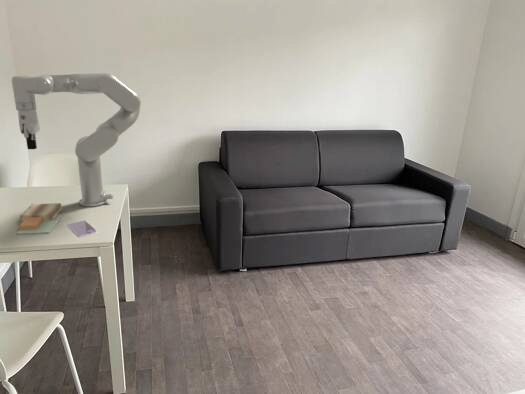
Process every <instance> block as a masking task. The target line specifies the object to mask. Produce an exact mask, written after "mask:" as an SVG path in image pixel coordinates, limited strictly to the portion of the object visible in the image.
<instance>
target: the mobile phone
mask: <svg viewBox="0 0 525 394" xmlns="http://www.w3.org/2000/svg"><path fill="white" fill-rule="evenodd" d="M67 228H69V230H71V231H72V232H73V234H75V235H76V236H77V237H78V238H81V237H86V236H90V235H94V234H97V233H98V231H97V229H95V228H94V227H93V226H92V225H91V224H90V223H88V221H86V220H80V221H76V222H71V223H68V224H67Z"/></svg>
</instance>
